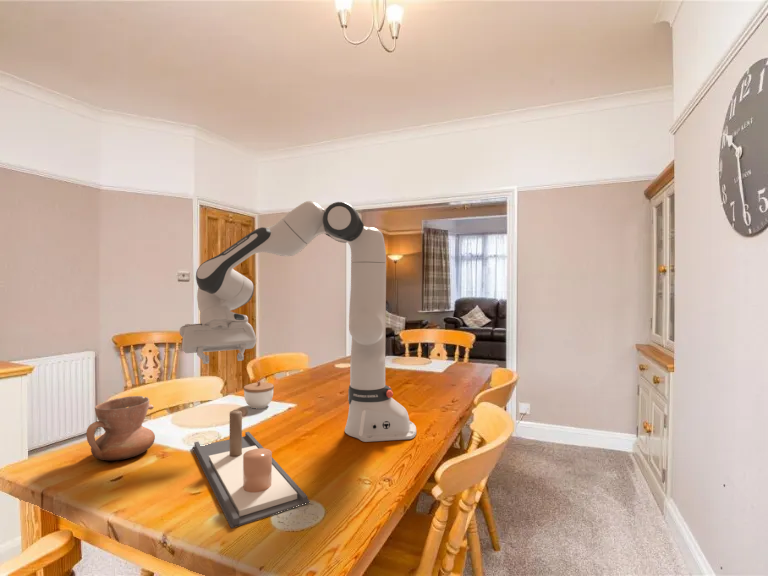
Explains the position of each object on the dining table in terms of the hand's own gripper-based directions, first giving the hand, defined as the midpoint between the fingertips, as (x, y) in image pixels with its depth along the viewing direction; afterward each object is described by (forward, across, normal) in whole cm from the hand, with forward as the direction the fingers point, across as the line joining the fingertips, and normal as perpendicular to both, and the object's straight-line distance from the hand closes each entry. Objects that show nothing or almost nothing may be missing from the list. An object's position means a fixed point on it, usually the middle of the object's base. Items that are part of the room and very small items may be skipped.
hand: (224, 361), depth 115 cm
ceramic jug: (+12, -24, +23) cm, 36 cm away
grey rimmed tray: (+31, 0, +3) cm, 31 cm away
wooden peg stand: (+34, 0, 0) cm, 34 cm away
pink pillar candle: (+38, 0, -7) cm, 39 cm away
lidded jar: (-4, +20, +39) cm, 43 cm away
